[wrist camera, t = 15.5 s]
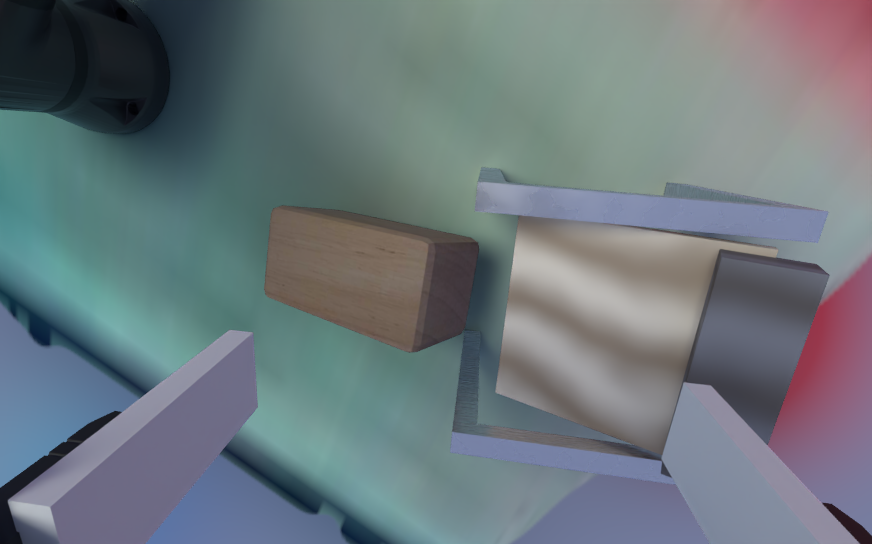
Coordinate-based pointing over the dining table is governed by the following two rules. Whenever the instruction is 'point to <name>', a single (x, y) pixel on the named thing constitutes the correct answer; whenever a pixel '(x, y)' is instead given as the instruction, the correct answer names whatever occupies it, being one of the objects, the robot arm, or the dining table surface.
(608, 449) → the frame
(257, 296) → the dining table surface
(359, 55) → the dining table surface
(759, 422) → the trapdoor
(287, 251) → the block
